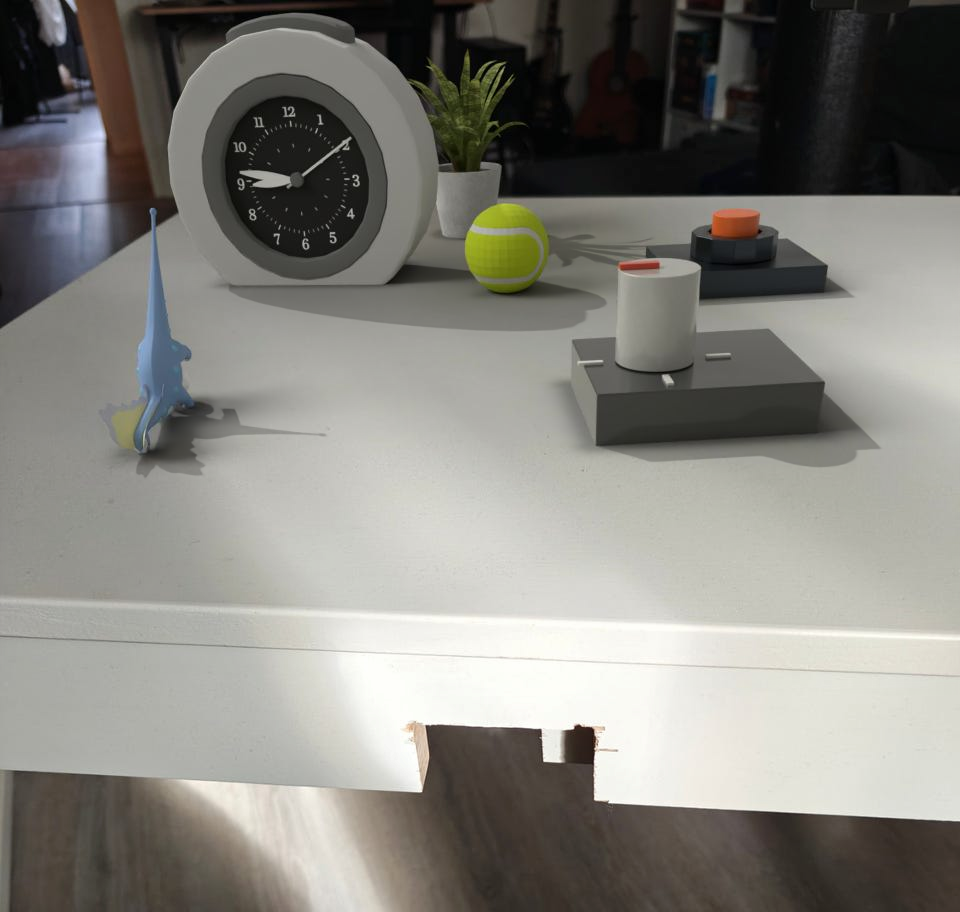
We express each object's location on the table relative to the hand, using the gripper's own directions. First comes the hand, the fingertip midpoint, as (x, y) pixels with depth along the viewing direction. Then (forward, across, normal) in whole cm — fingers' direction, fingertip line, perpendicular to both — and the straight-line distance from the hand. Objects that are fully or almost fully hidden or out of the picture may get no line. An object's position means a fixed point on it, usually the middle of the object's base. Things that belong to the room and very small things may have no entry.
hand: (855, 11), depth 67 cm
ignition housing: (+19, +6, +5) cm, 20 cm away
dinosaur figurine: (+20, -21, +44) cm, 52 cm away
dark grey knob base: (+19, -22, +13) cm, 32 cm away
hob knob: (+16, -22, +15) cm, 31 cm away
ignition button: (+15, +7, +5) cm, 17 cm away
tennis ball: (+19, +6, +23) cm, 31 cm away
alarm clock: (+20, +14, +39) cm, 46 cm away
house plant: (+19, +31, +26) cm, 45 cm away
